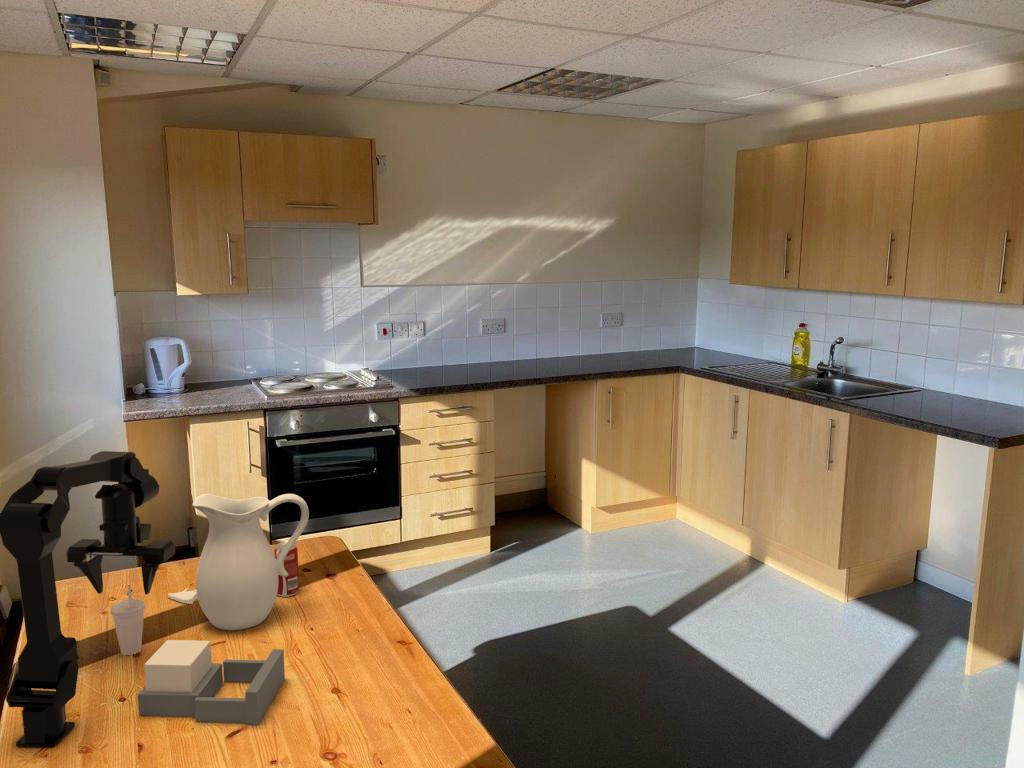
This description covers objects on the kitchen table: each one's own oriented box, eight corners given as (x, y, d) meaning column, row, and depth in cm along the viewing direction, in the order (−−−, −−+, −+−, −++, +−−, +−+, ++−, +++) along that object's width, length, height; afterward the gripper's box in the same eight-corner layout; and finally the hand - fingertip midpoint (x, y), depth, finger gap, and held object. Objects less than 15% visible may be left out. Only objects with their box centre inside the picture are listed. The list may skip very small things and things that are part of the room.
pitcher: (194, 641, 168) (186, 511, 163) (202, 607, 184) (195, 488, 180) (313, 628, 174) (309, 503, 170) (311, 596, 190) (307, 481, 186)
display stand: (258, 724, 139) (256, 692, 138) (133, 722, 139) (131, 689, 138) (284, 679, 154) (283, 649, 153) (172, 676, 154) (170, 647, 153)
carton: (191, 692, 142) (190, 665, 141) (146, 691, 142) (144, 664, 141) (211, 666, 150) (210, 640, 150) (168, 665, 151) (167, 639, 150)
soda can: (274, 590, 193) (272, 542, 191) (296, 587, 195) (295, 539, 193) (278, 599, 188) (276, 549, 187) (300, 595, 191) (299, 546, 189)
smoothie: (135, 660, 160) (130, 593, 158) (106, 657, 161) (101, 590, 159) (155, 645, 166) (150, 580, 164) (127, 642, 168) (122, 577, 165)
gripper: (185, 504, 164) (188, 578, 166) (92, 502, 164) (97, 577, 166) (160, 521, 153) (164, 600, 155) (61, 520, 153) (67, 599, 155)
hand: (124, 593), depth 158 cm, fingers open, 9 cm apart
